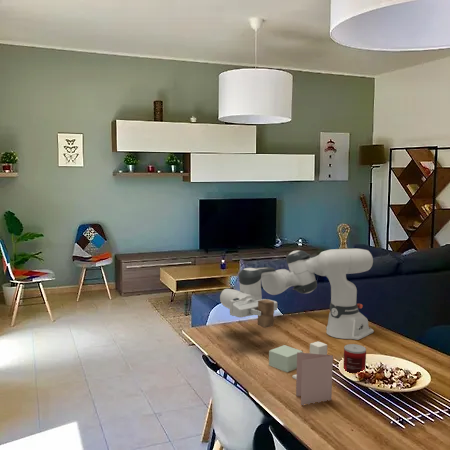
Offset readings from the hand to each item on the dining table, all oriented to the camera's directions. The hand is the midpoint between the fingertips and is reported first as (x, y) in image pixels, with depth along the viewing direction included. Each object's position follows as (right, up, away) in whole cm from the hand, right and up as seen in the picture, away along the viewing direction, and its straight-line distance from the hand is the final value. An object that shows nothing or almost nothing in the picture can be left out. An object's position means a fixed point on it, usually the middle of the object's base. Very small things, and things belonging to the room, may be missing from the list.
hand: (267, 312), depth 202 cm
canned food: (+30, -20, -21) cm, 41 cm away
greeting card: (+11, -22, -40) cm, 47 cm away
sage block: (+6, -19, -10) cm, 22 cm away
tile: (+13, -20, -22) cm, 33 cm away
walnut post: (-1, -5, +1) cm, 6 cm away
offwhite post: (+18, -19, -14) cm, 30 cm away
